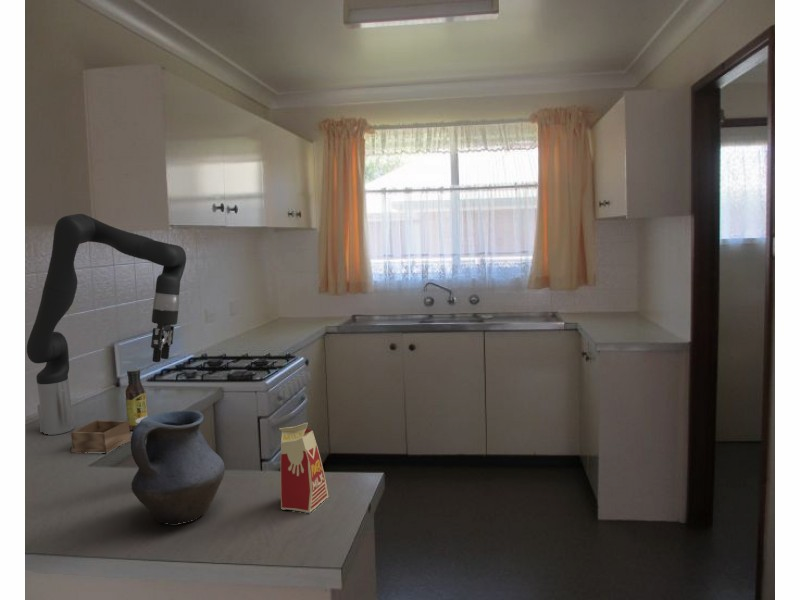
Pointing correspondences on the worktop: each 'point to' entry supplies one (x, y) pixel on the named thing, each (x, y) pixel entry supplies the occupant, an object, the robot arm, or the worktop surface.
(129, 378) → the sauce bottle
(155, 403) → the worktop surface
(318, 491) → the milk carton
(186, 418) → the pitcher
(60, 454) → the worktop surface
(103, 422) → the open wooden box
